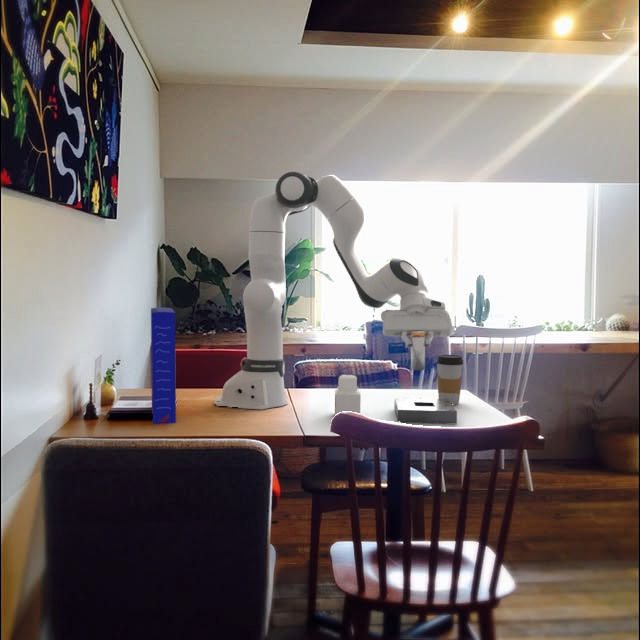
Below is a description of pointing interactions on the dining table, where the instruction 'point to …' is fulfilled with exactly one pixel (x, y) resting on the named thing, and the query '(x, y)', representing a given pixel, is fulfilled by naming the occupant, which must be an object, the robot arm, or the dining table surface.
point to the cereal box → (163, 365)
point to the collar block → (425, 410)
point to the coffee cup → (449, 377)
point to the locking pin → (418, 350)
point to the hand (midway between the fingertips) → (418, 345)
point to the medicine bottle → (347, 394)
